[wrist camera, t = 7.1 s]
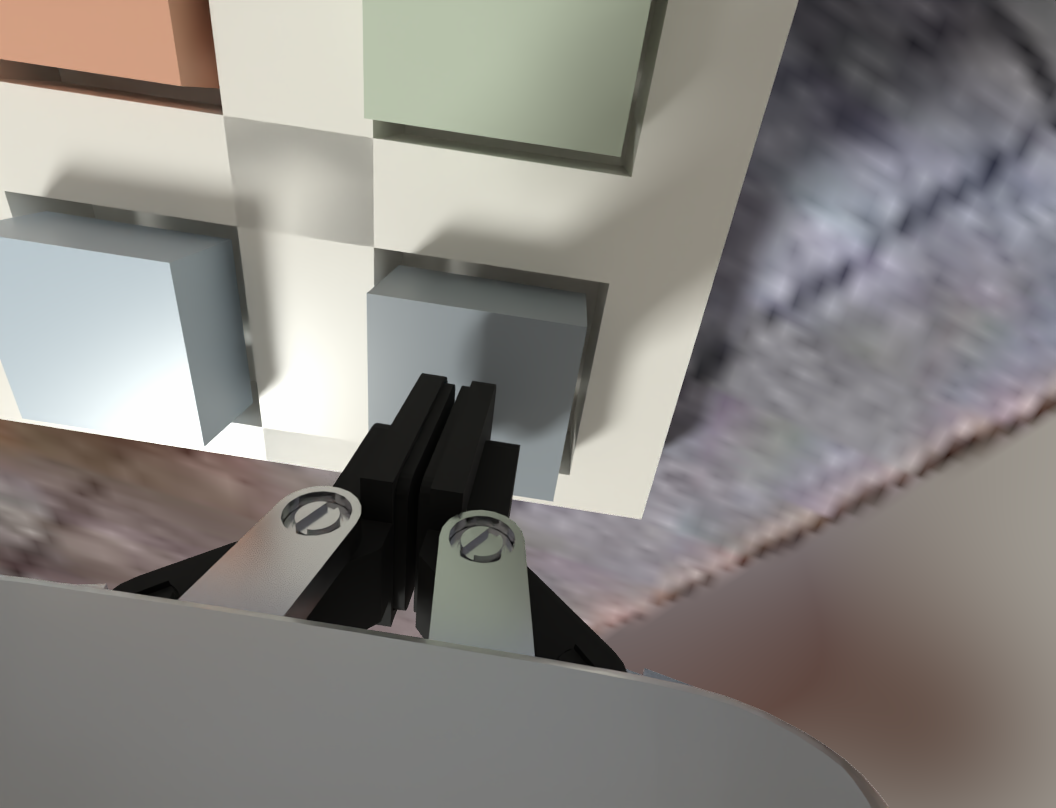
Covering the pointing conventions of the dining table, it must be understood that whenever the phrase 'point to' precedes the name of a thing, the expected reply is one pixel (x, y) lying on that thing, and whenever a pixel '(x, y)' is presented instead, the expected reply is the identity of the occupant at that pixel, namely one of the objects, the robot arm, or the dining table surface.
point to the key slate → (482, 356)
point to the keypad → (414, 214)
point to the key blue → (121, 327)
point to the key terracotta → (114, 38)
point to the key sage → (506, 68)
